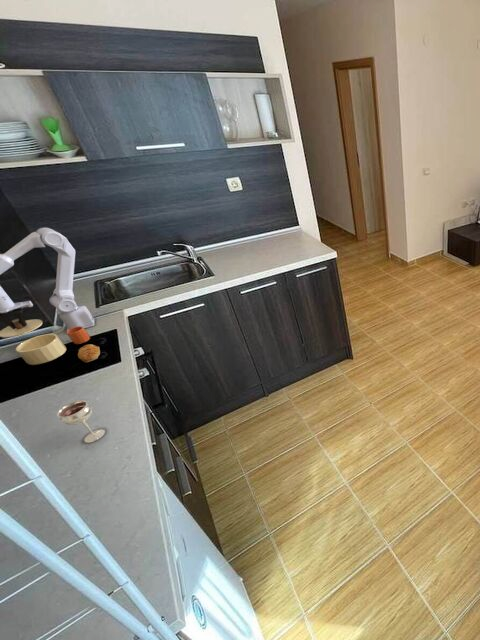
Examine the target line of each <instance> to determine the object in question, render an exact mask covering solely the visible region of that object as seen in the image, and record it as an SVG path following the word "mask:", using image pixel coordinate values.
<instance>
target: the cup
mask: <svg viewBox="0 0 480 640" xmlns="http://www.w3.org/2000/svg"><path fill="white" fill-rule="evenodd" d="M66 335H67V336H68V337H69V338H70V340H71V341H72V342H71V343H73V344H75V345H80V344H83V343H86V342H88V341H89V340H90V339H91V336H90V335H89V334H88V332H87V330H86V328H83V327H82V326H78V327H74V328H71V329H69V330H68V331H67V330H66Z"/></svg>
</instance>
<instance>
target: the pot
mask: <svg viewBox="0 0 480 640" xmlns="http://www.w3.org/2000/svg"><path fill="white" fill-rule="evenodd" d="M15 351H16V353H18V355H19V356H20V357H21V359H23V361H24V362H25V363H26V364H27V365H29V366H35V365H36V366H37V365H41V364H45V363H49V362H51V361H53V360H56V359H57V358H59V357H61V356H62V355H64V354H65V353H66V351H67V347H66V345H65V344H64V343H63V341H62V340H61V338H60V337H59V336H58V335H57V334H55V333H46V334H40V335H37V336H34V337H31V338H29V339H26V340H24V341H23V342H21V343H19V344H18V345H17V346H16V347H15Z"/></svg>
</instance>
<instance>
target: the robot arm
mask: <svg viewBox="0 0 480 640" xmlns="http://www.w3.org/2000/svg"><path fill="white" fill-rule="evenodd" d="M46 246H48V247H51V248H52V249H53V250H54V251H56V252H57V264H56V277H55V278H56V279H55V288H54V290H53V294H52V295H51V296H50V298H49V303H50V305H52V306H53V307H54V308H55V309H56V314H57V315H58V316H59V318H60V320H61V321H62V322H63V324H64V326H66V332H67V331H68V330H69V329H71V328H74V327H78V326H82V327H83V328H84V329H88V328H91V327H95V318H94V317H93V315H92V314H91V312H90V311H89V309H88V307H87V306H86V305H78V304H77V303H76V301H75V295H74V292H73V291H74V290H73V286H74V275H75V264H76V263H75V261H76V249H75V248H74V247H73V245H72V244H71V243H70V242H69V239H68V238H67V237H65V235H63V234H61V233H60V232H59V231H56V230H54V229H52V228H50V227H40V228H37V230H36V231H33V232H31V233H30V234H28V235H27V236H25V237H24V238H23V239H22V240H20V241H19V242H18V243H16V244H15V245H13V246H12V247H11V248H9V250H7V251H6V252H4V253H0V276H1V275H2V274H3V273H5V272H6V271H8V270H9V269H11V268H12V267H14V266H15V260H17V259H18V258H20V257H22V256H23V255H25V254H26V253H28V252H30V251H32V250H33V249H35V248H46ZM33 306H34V303H33V302H32V301H31V300H26V301H20V302H19V301H18V302H14V301H13V300H12V299H11V298H10V296H9V295H8V294H7V292H6V291H5V290H4V288H3V287H2V285H0V323H3V324H5V325H6V326H7V327H8V326H10V327H11V328H12V329H15V327H14V325H13V324H12V323H11V321H12V320H11V319H10V317H9V316H8V314H7V313H8V312H12V314H13V315H14V317H16V319H19V320H20V322H21V323H22V325H23V326H27V323H26V318H25V313H24V309H25V308H32V307H33Z"/></svg>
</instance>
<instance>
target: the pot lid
mask: <svg viewBox="0 0 480 640" xmlns="http://www.w3.org/2000/svg"><path fill="white" fill-rule="evenodd" d="M25 321H26V323H27V326H23V325H22V323H21V322H20V320H19V319H18V318H15V319H12V320H11V323H12V324H13V325H14V327H15V329H12V328H11V327H10V326H8V325H7V326H5V328H2V329H1V330H0V337H1V338H13V337H14V338H15V337H19V336H22V335H25V334H28V333H31V332H32V331H35V330H37V329H39V328H40V327H41V326H42V325H43V320H42V319H39V318H38V319H36V318H35V319H27V320H26V319H25Z"/></svg>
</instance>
